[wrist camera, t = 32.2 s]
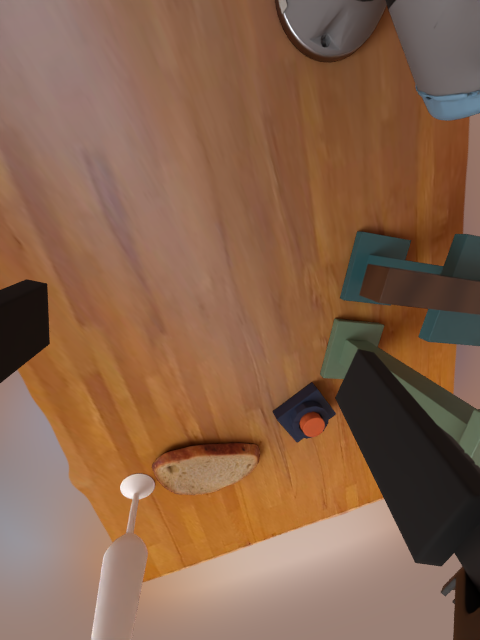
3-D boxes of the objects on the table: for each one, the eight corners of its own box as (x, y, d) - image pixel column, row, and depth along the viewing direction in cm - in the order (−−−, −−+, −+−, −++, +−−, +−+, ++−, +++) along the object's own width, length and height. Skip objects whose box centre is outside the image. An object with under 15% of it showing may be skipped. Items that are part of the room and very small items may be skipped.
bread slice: (266, 451, 61) (271, 465, 57) (208, 505, 63) (210, 521, 59) (205, 407, 55) (207, 420, 51) (143, 468, 56) (140, 484, 53)
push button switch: (311, 382, 57) (321, 394, 53) (330, 406, 60) (340, 419, 56) (272, 411, 58) (279, 425, 54) (292, 433, 61) (300, 449, 57)
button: (313, 407, 54) (318, 413, 53) (324, 421, 56) (328, 427, 54) (295, 421, 55) (299, 427, 53) (306, 434, 56) (310, 441, 54)
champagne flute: (155, 497, 59) (138, 662, 37) (121, 501, 58) (82, 675, 35) (154, 472, 57) (136, 631, 35) (119, 475, 56) (76, 643, 33)
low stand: (334, 297, 52) (428, 341, 33) (352, 230, 49) (468, 234, 29) (389, 303, 55) (507, 348, 35) (409, 240, 52) (552, 250, 32)
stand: (315, 374, 57) (442, 517, 29) (329, 317, 54) (489, 418, 26) (367, 376, 60) (528, 509, 32) (383, 323, 56) (581, 419, 28)
